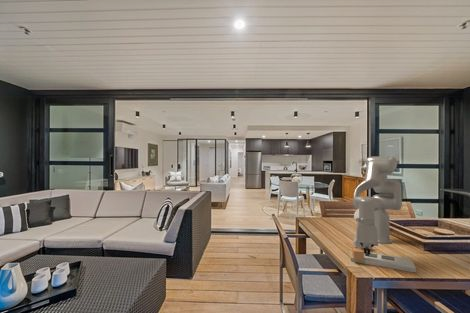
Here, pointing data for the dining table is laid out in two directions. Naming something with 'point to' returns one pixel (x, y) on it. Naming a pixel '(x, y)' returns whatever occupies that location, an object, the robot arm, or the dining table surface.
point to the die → (359, 244)
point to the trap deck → (388, 262)
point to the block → (357, 254)
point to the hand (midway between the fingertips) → (367, 255)
